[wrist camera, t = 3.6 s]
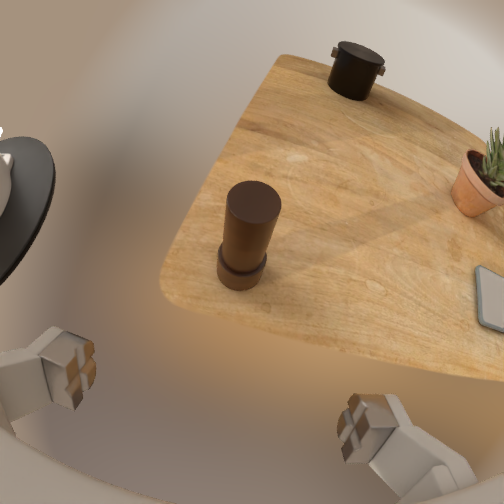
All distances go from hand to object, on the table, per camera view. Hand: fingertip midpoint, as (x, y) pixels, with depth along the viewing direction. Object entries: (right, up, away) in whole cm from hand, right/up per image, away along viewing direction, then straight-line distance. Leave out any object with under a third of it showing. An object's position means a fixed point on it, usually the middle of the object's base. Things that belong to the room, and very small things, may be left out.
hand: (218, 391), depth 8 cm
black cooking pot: (+19, +34, +39) cm, 55 cm away
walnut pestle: (0, +2, +19) cm, 19 cm away
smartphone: (+36, -4, +21) cm, 42 cm away
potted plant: (+34, +12, +29) cm, 46 cm away
